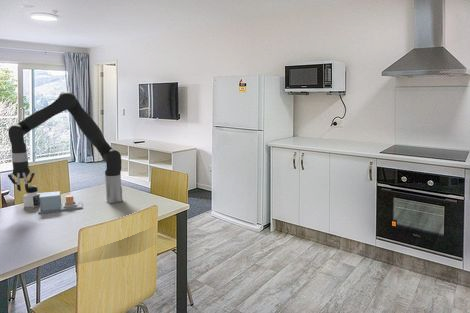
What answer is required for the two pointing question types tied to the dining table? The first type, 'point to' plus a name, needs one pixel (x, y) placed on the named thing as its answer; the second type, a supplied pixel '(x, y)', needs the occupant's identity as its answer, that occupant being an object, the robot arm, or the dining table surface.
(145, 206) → the dining table surface
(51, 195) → the cover
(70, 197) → the tan rectangular block
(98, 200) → the dining table surface
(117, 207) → the dining table surface
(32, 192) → the medicine bottle
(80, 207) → the housing base
